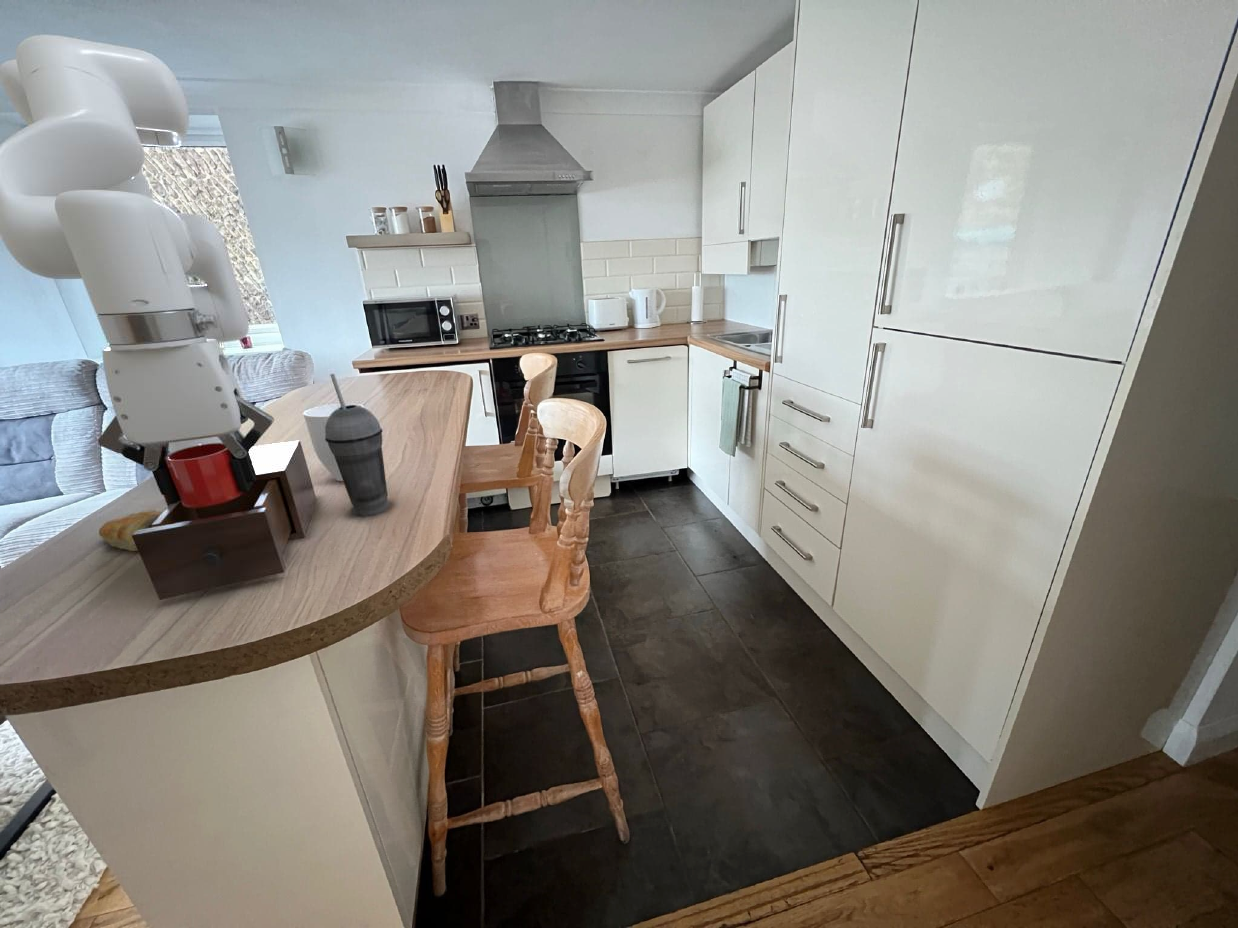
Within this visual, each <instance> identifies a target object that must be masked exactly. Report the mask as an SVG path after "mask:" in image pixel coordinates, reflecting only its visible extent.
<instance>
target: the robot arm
mask: <svg viewBox="0 0 1238 928" xmlns="http://www.w3.org/2000/svg"><path fill="white" fill-rule="evenodd" d="M0 83H1V86H2V88H3V90H4V91H5V94H6V96H7V97H8V99H9V101H10V102H11V104H12V106H13V107H14V109H15V110H16V112H17V113H18V115H19V116H20V118H21V119H22V120H23V122H24V123H25V124H26V126H25V127H23V128H22V129H20V130H18V131H17V132H15V133H14V134H12V135H11V136H9V137H8V138H6V140H4V141H3V142H1V144H0V237H1V239H2V242H3V244H4V245H5V248H6V250H7V252H9V253H10V255H11V256H12V258H13V259H14V260H15V261H16V263H18V264H19V265H20V266H21V267H23V269H26V270H27V271H29V272H30V273H32V274H34V275H36V276H40V277H44V278H47V279H51V280H52V279H54V280H81V279H82V282H83V284H84V287H85V290H86V292H87V294H88V297H89V300H90V302H91V305H92V307H93V310H94V312H95V314H96V317H97V320H98V322H99V326H100V327H101V330H102V332H103V335H104V338H105V340H106V342H107V345H108V347H106V348H103V349H102V350H101V353H102V364H103V369H104V376H105V381H106V385H107V389H108V393H109V398H110V401H111V404H112V408H113V411H114V414H115V416H114V417H113V419H112V420H111V421H110V422H109V424H108V425H107V426H106V428H105V429H104V430H103V432H102V434H101V435H100V437H98V439H97V444H98V445H99V446H100V447H102V448H104V449H107V450H108V451H109V450H110V451H111V452H114V453H116V454H120V455H122V456H123V457H124V458H126V459H127V460H129V461H131V462H133V463H136V464H138V465H141V466H143V468H144V469H145V470H146V471H148V472H151V473H152V475H153V477H154V481H155V483H156V486H157V488H158V490H159V492H160V494H161V495H162V496H164V495H166V496H167V498H168V501H169V503H170V504H175V503H178V502H179V501H180V497H179V495H178V492H177V490H176V487H175V484H174V482H173V479H172V477H171V474H170V471H169V469H168V466H167V464H166V461H165V459H164V457H166V456H167V455H168V454H170V453H172V452H175V451H177V450H180V449H184V448H187V447H192V446H196V445H201V444H209V443H223V444H224V445H225V446H226V447H227V448H228V449H229V451H230V452H231V453H232V457H233V459H231V460H230V464H231V467H232V470H233V473H234V476H235V479H236V481H237V484H238V487H239V490H240V491H242V492H248V491H249V489H250V488H251V486H252V484H253V481H255V480H256V472H255V469H254V466H253V463H252V460H251V457H250V454H249V451H250V450H251V449H252V447H255V446H256V444H257V443H258V441H259V440H260V439H261V437H262V436H263V435H264V434H265V433H266V432H267V431H268V429H269V428H270V427H271V426H272V424H273V423H274V422H275V418H274V416H272V415H271V414H269V413H267V412H266V411H264V410H263V409H261V408H259V407H258V406H257V405H254V404H253V403H251V402H249V401H248V400H246V399H245V398H244V396H243V393H242V390H241V388H240V386H239V383H238V381H237V379H236V376H235V373H234V372H233V370H232V367H231V365H230V363H229V360H228V359H227V356H226V355H225V353H224V351H223V349H222V347H221V346H220V344H219V343H228V342H235V341H240V340H242V339H244V338H245V337H247V336H248V333H249V329H250V328H249V319H248V315H247V311H246V308H245V305H244V302H243V298H242V294H241V291H240V287H239V284H238V281H237V277H236V274H235V270H234V267H233V264H232V260H231V257H230V254H229V251H228V248H227V245H226V242H225V240H224V237H223V235H222V234H221V232H220V230H219V228H218V227H217V226H216V224H215V223H214V222H213V221H212V220H211V219H209V218H207V217H206V216H203V215H200V214H196V213H183V212H182V213H181V212H175V211H174V210H172V209H171V208H170V207H169V206H167V205H165V204H162V203H160V202H157V201H156V200H154V199H153V195H152V192H151V189H150V186H149V182H148V180H147V178H146V176H145V174H143V172H142V169H143V167H144V165H145V159H146V157H145V156H146V155H145V151H144V147H143V146H155V147H165V148H167V147H169V148H175V147H180V146H183V144H184V143H185V142H186V138H187V134H188V130H189V126H190V112H189V107H188V104H187V103H188V102H187V100H186V97H185V94H184V91H183V89H182V87H181V85H180V83H179V80H178V79H177V78H176V76H175V74H174V73H173V71H172V70H171V69H170V67H169V66H168V65H167V64H166V63H164V61H162V59H160V58H159V57H157V56H155V55H154V54H153V53H150V52H147V51H145V50H141V49H139V48H134V47H133V48H132V47H127V46H123V45H116V44H109V43H104V42H98V41H91V40H86V39H80V38H75V37H69V36H64V35H56V34H36V35H32V36H29V37H27V38H25V39H23V40H22V41H21V42H20V43H19V44H18V46H17V48H16V53H15V59H11V60H7V61H5V62H3V63H2V64H1V65H0ZM188 277H189V278H191V277H193V278H197V279H201V280H202V281H203V282H204V283H205V284H199V285H197V284H196V285H189V282H188V279H187V278H188ZM249 420H251V421H252V422H253V426H252V428H250V430H249V431H248V432H246V435H244V434H243V433H242V432H241V430H240V429H241V427H242V425H243V424H245V423H246V422H248V421H249Z"/></svg>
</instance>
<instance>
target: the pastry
mask: <svg viewBox="0 0 1238 928" xmlns="http://www.w3.org/2000/svg"><path fill="white" fill-rule="evenodd" d="M163 512H164V511H157V510H153V509H152V510H145V511H139V512H133V513H131V514H127V515H125V516H122V517H119V518H114V519H111V520H108V521H107V522H105V523H104V524H103V525H102V526H101V527H100V529H99V531H98V535H99V537H100V538H102V539H103V541H106V542H107V543H109V545H110V546H111V547H113V548H117V549H119V550H126V551H131V552H138V549H137V547H136V545H135V542H134V540H133V538H132V534H133V533H134V532H135V531H136V530H141V529H147V528H152V526H151V525H152V524H153V522H154V521H155V520H156V519H157V518H158V517H159V516H160V515H161V514H162V513H163Z"/></svg>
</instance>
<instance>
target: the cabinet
mask: <svg viewBox="0 0 1238 928" xmlns="http://www.w3.org/2000/svg"><path fill="white" fill-rule="evenodd" d="M304 453H305V452H304V450H303V446H302V442H301V440H291V441H286V442H278V443H271V444H264V445H263V444H262V445H258V446H256V445H255V446H253V447H252V449H251V450H250V451H249V454H250V457H251V460H252V463H253V466H254V469H255V472H256V480H255V481H258V480H264V479H270V478H277V477H279V480H280V484H281V487H282V490H283V494H284V497H285V500H286V503H287V507H288V510H289V513H290V517H291V521H292V523H293V527H292V530H291V532H290V535H289V538H288V541H291V540H296V539H297V540H298V539H301V538H305V537H306V534H307V531H308V528H309V524H310V520H311V517H312V513H313V512H314V511H313V510H314V507H315V504H316V501H317V496H316V493H315V489H314V485H313V482H312V477H311V476H310V475H311V473H310V471H309V468H308V463H307V461H306V456H305V454H304ZM163 498H164V501H165V503H166V505H167V507H168V506H169V505H170V503H169V501H168V498H167V496H166V495H163Z"/></svg>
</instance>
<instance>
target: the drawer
mask: <svg viewBox="0 0 1238 928" xmlns="http://www.w3.org/2000/svg"><path fill="white" fill-rule="evenodd" d="M162 512H163V513H162V514H161V515H160V516H159V517H158V518H157V519H156V520H155V521H154V522H153V524H152V525H151V526H152V528H147V529H141V530H136V531H135V532H134V533H133V534H132V538H133V540H134V542H135V545H136V547H137V549H138V550H137V552H138V554H139V556H140V558H141V560H142V563H143V565H144V568H145V569H146V572H147V575H148V577H149V579H150V581H151V584H152V586H153V588H154V590H155V593H156V595H157V598H158V599H159V601H162V600H167V599H171V598H177V597H179V596H186V595H189V594H193V593H199V592H203V591H207V590H212V589H216V588H221V587H226V586H230V585H234V584H240V583H244V582H249V581H254V580H258V579H262V578H263V579H264V578H267V577H272V576H276V575H280V574H284V573H285V571H286V569H287V566H286V564H285V560H284V558H283V554H284V552H285V549H286V546H287V543H288V541H289V540H288V538H289V535H290V532H291V530H292V527H293V523H292V521H291V517H290V513H289V510H288V507H287V503H286V500H285V497H284V494H283V490H282V487H281V484H280V480H279V477H277V478H270V479H264V480H258V481H253V484H252V486H251V488H250V489H249V491H248V492H244V493H243V494H242V495H240V496H239V497H237V498H235V499H232V500H230V501H227V502H224V503H221V504H217V505H213V506H208V507H200V508H188V507H185V506H183V504H182V502H181V500H180V501H179V502H178V503H175V504H170V505H169V506H167V507H166V508H165V509H164V510H163V511H162Z"/></svg>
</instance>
